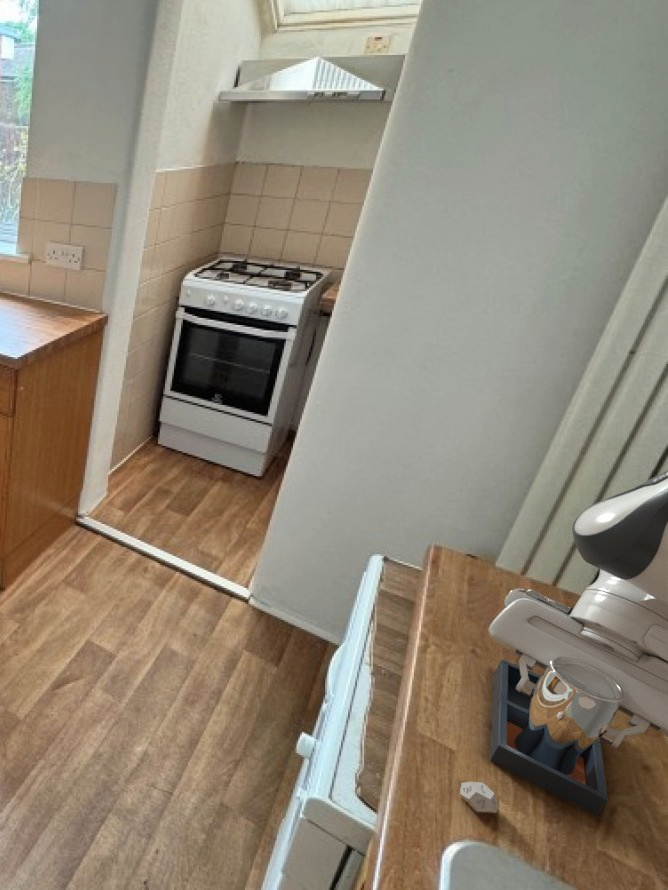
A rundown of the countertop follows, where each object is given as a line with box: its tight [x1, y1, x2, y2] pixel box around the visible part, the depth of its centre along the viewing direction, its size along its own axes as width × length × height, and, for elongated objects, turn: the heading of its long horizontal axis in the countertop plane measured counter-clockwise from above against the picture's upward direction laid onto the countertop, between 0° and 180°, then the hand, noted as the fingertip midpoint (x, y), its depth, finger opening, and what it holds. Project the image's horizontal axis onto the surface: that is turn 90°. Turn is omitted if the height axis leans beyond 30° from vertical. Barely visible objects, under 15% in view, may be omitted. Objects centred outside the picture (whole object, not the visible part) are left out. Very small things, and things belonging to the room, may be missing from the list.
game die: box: [459, 781, 499, 814], centre depth 76 cm, size 4×4×3 cm
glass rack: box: [489, 658, 609, 817], centre depth 84 cm, size 19×10×4 cm, turn 136°
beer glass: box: [511, 657, 625, 778], centre depth 78 cm, size 7×7×15 cm
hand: (564, 717), depth 78 cm, fingers closed on beer glass, 7 cm apart
